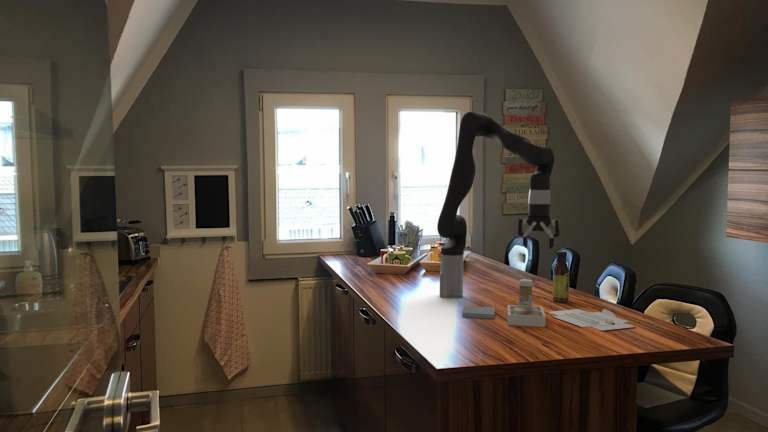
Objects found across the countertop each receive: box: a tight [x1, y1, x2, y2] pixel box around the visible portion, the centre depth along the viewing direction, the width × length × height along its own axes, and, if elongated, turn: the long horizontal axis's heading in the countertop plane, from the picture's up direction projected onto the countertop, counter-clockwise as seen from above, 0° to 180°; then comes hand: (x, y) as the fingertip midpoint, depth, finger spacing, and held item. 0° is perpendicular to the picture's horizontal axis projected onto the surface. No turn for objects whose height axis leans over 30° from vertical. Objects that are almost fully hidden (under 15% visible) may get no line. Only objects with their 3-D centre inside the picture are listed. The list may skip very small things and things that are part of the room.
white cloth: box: [548, 308, 635, 332], centre depth 209 cm, size 20×28×4 cm
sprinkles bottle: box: [518, 278, 534, 308], centre depth 210 cm, size 5×5×13 cm
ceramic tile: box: [462, 305, 496, 319], centre depth 216 cm, size 11×11×2 cm
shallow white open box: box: [506, 304, 547, 328], centre depth 207 cm, size 12×15×4 cm
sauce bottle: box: [552, 250, 570, 303], centre depth 239 cm, size 7×6×20 cm
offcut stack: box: [514, 308, 539, 316], centre depth 203 cm, size 9×5×5 cm, turn 81°
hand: (538, 248), depth 215 cm, fingers open, 8 cm apart
